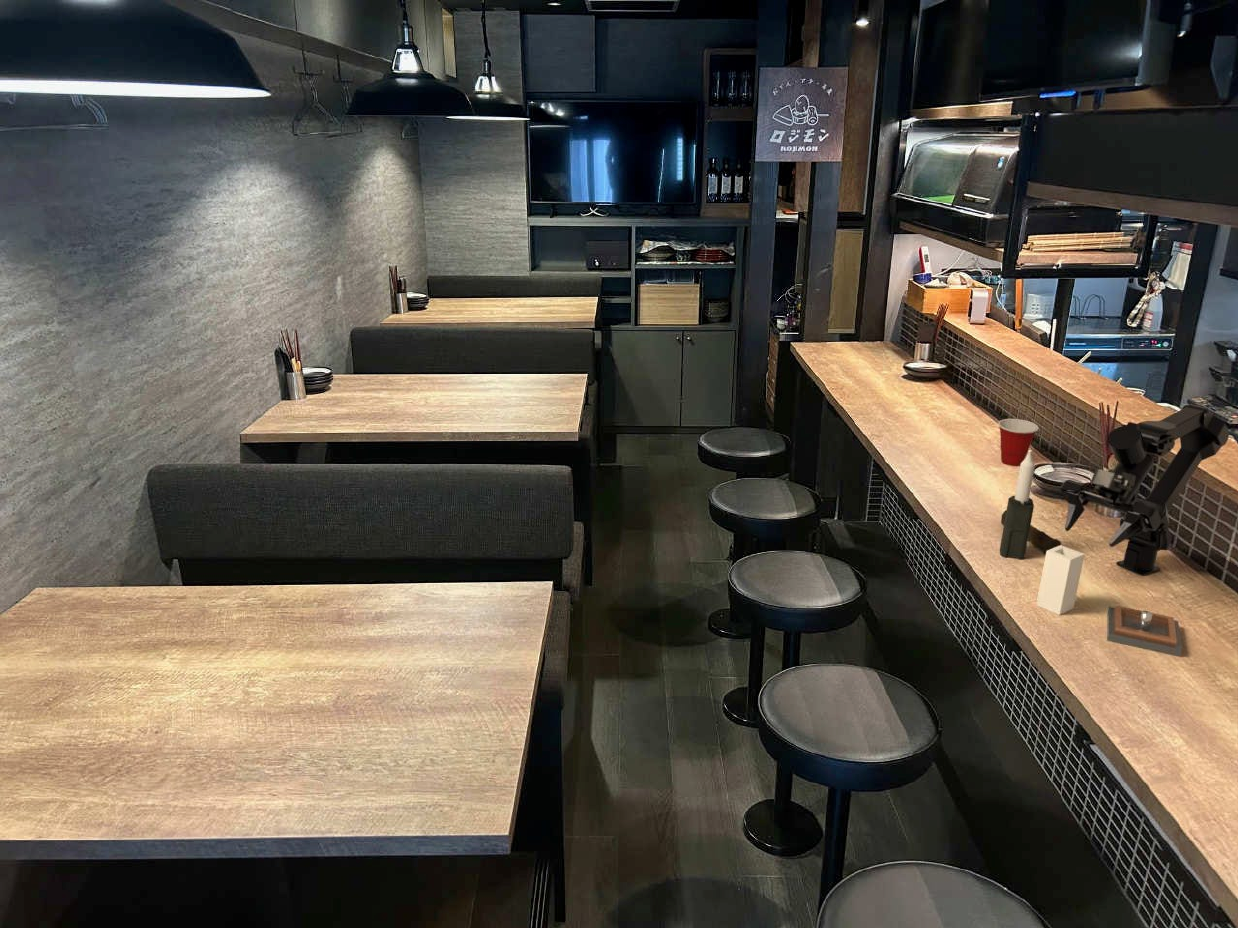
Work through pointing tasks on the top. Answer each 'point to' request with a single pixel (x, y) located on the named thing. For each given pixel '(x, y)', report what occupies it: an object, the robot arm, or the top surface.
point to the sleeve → (1060, 579)
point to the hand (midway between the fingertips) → (1087, 537)
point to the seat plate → (1144, 630)
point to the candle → (1019, 514)
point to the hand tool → (1038, 537)
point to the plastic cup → (1015, 440)
